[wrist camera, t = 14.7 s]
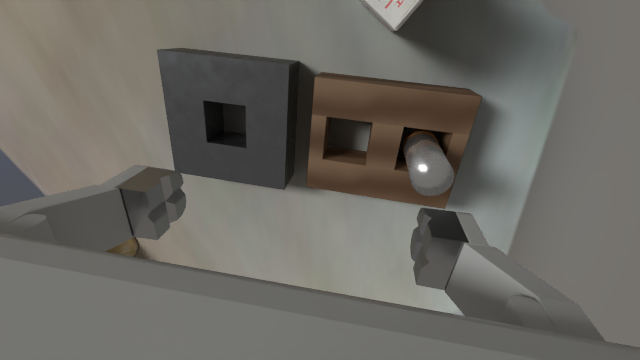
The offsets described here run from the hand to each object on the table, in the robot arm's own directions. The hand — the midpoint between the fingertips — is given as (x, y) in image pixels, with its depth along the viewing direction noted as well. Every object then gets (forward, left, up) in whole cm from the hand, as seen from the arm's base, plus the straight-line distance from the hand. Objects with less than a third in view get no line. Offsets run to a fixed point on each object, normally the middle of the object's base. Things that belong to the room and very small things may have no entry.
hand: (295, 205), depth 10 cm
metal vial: (+7, +9, -31) cm, 33 cm away
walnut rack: (+6, +5, -31) cm, 32 cm away
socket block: (+6, -15, -31) cm, 35 cm away
